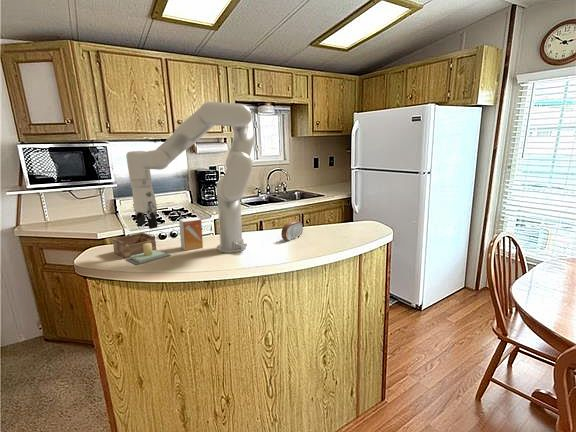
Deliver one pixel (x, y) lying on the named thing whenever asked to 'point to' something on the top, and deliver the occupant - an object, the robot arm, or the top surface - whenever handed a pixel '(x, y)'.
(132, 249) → the box
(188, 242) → the small box
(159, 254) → the lid
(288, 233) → the bread slice
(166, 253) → the mat
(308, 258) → the top surface
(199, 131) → the robot arm
